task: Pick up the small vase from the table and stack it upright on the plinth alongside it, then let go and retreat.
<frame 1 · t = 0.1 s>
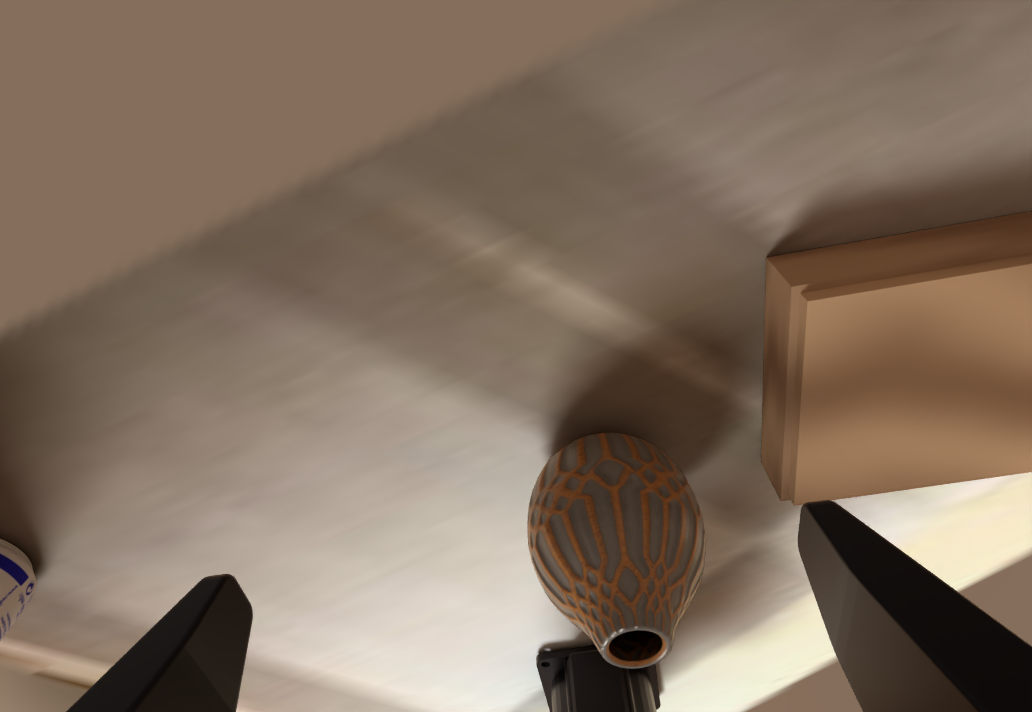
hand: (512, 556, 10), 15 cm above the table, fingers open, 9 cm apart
vase: (601, 465, 29), on the table
plinth: (891, 349, 25), on the table
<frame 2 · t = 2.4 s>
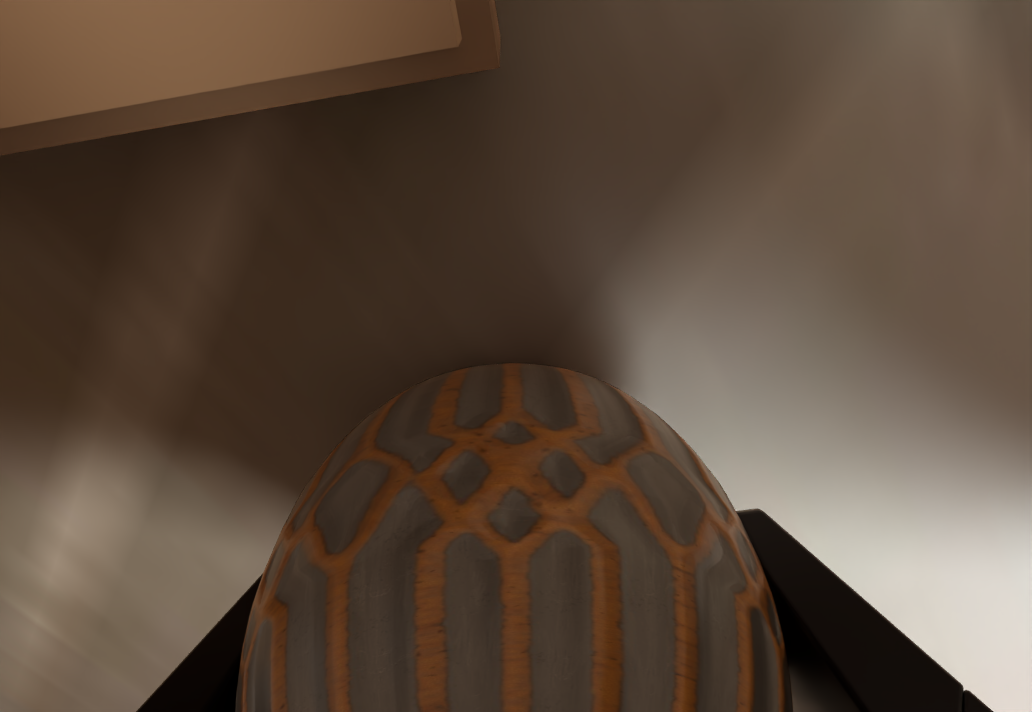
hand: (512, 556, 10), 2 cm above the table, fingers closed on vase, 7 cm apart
vase: (511, 453, 12), on the table, touching gripper
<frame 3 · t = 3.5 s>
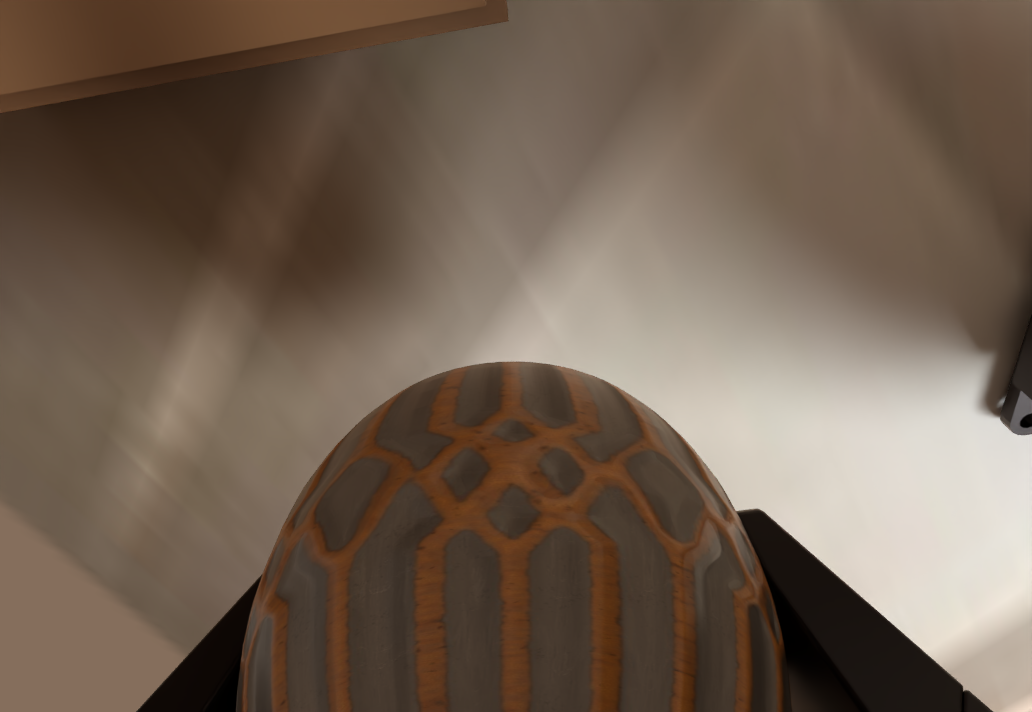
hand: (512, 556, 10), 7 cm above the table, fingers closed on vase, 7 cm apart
vase: (511, 452, 12), point 5 cm above the table, touching gripper
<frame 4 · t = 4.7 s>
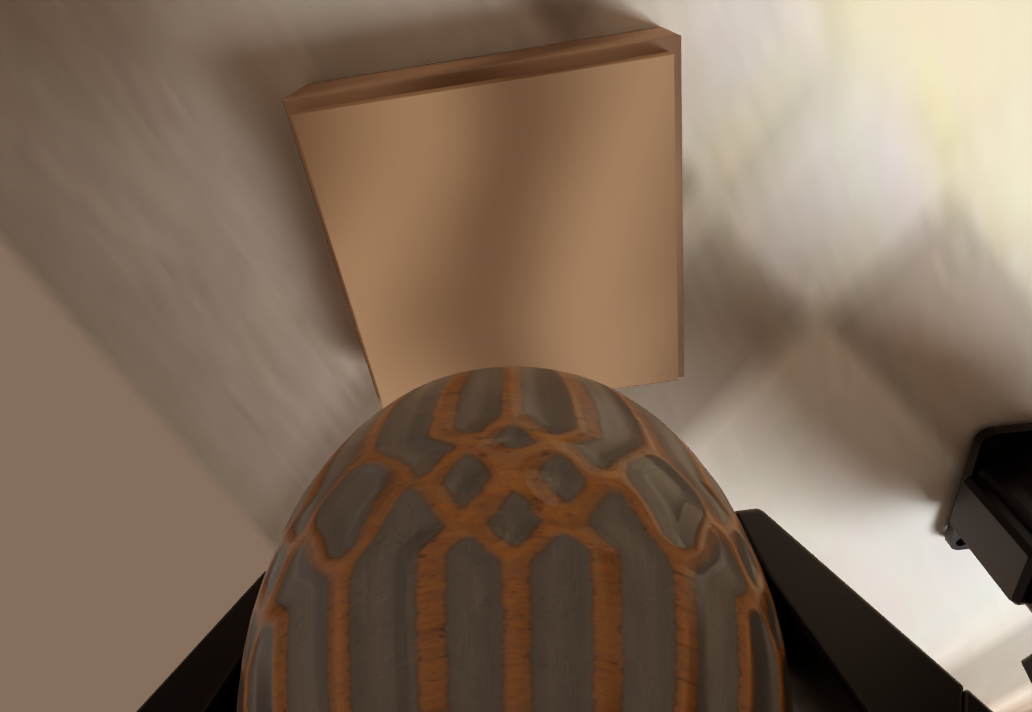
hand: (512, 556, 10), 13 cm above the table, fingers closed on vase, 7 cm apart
vase: (511, 456, 12), point 10 cm above the table, touching gripper
plinth: (508, 225, 20), on the table
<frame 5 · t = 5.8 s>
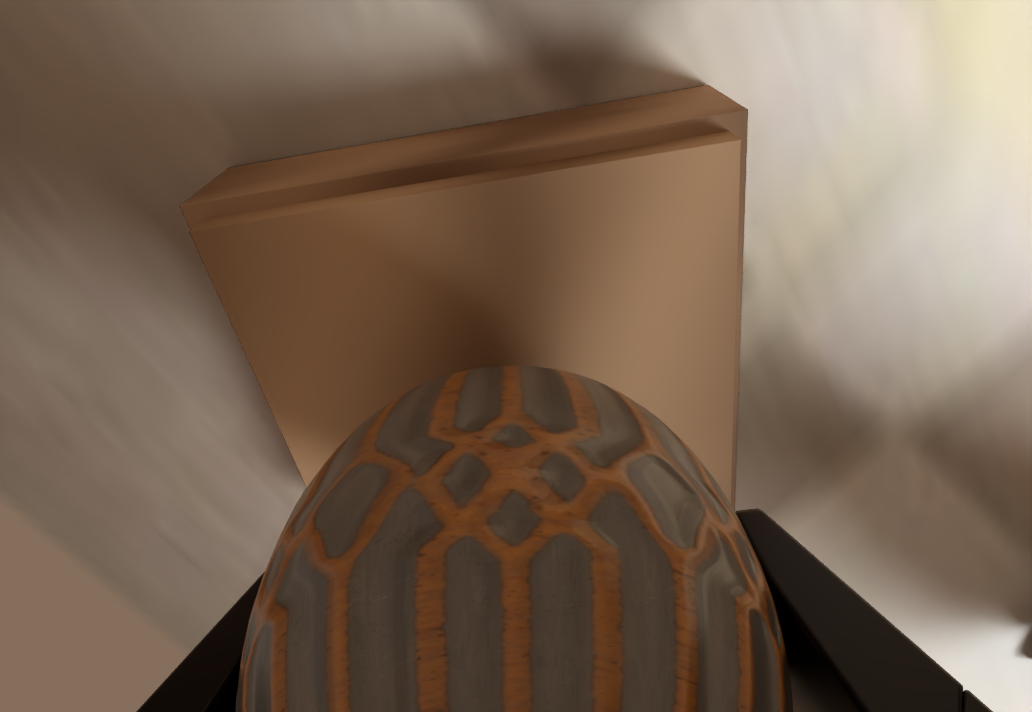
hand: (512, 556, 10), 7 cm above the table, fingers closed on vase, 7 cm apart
vase: (511, 455, 12), point 4 cm above the table, touching gripper
plinth: (503, 335, 16), on the table
when the fingers open (6 cm above the table, at t = 6.9 s): vase stays where it is, resting on plinth.
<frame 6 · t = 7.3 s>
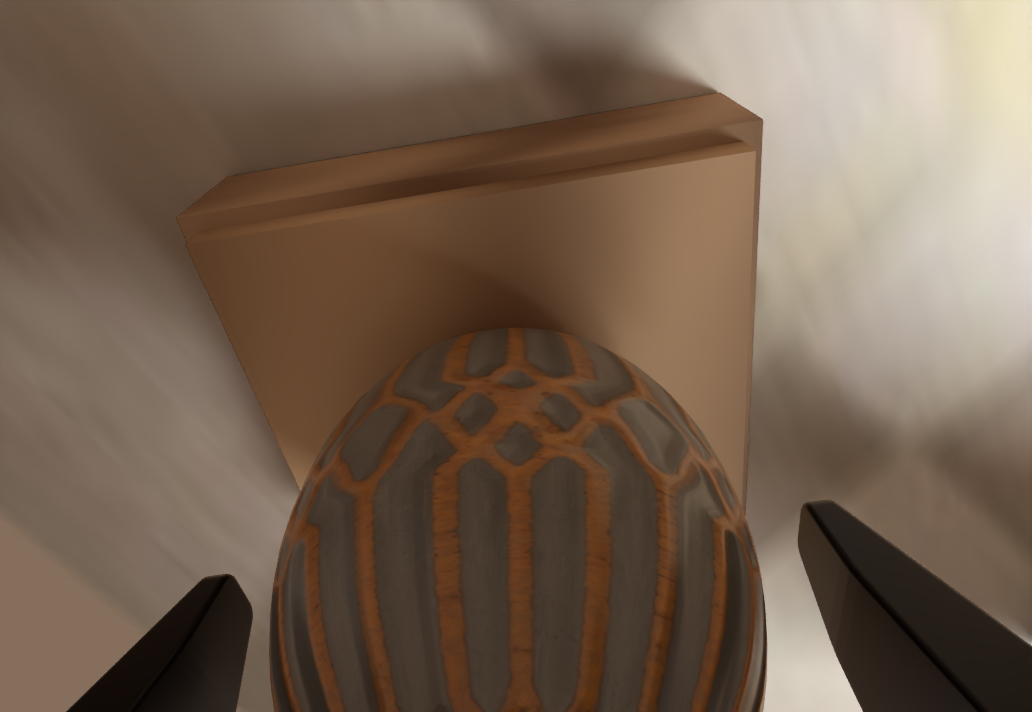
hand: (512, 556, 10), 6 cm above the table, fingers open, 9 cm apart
vase: (515, 420, 13), point 3 cm above the table, touching plinth
plinth: (508, 347, 15), on the table
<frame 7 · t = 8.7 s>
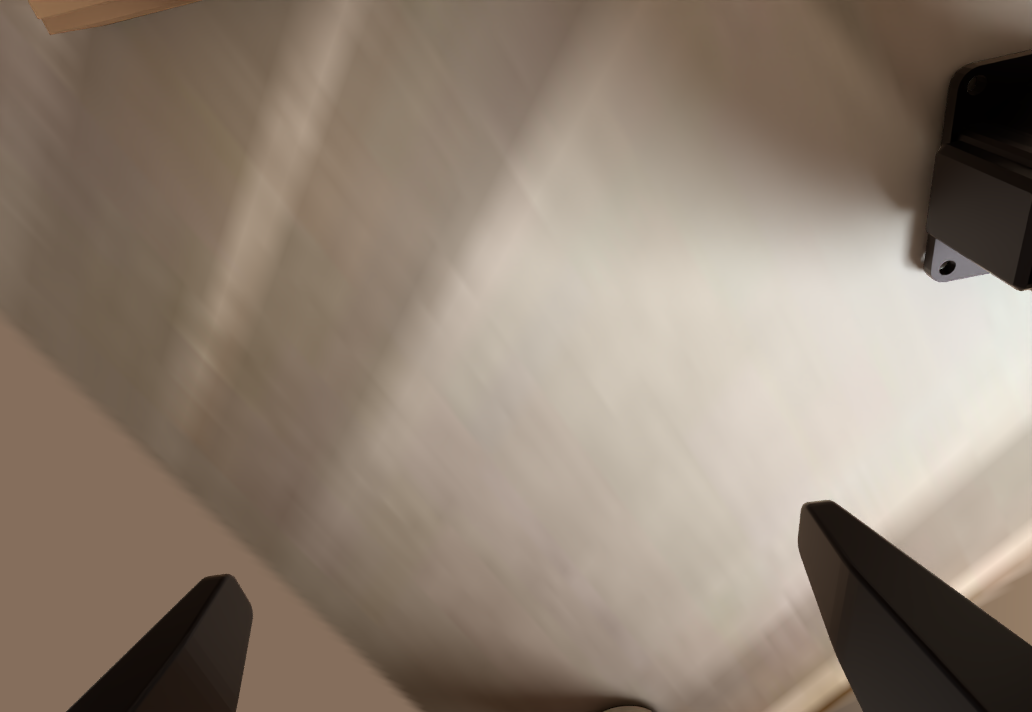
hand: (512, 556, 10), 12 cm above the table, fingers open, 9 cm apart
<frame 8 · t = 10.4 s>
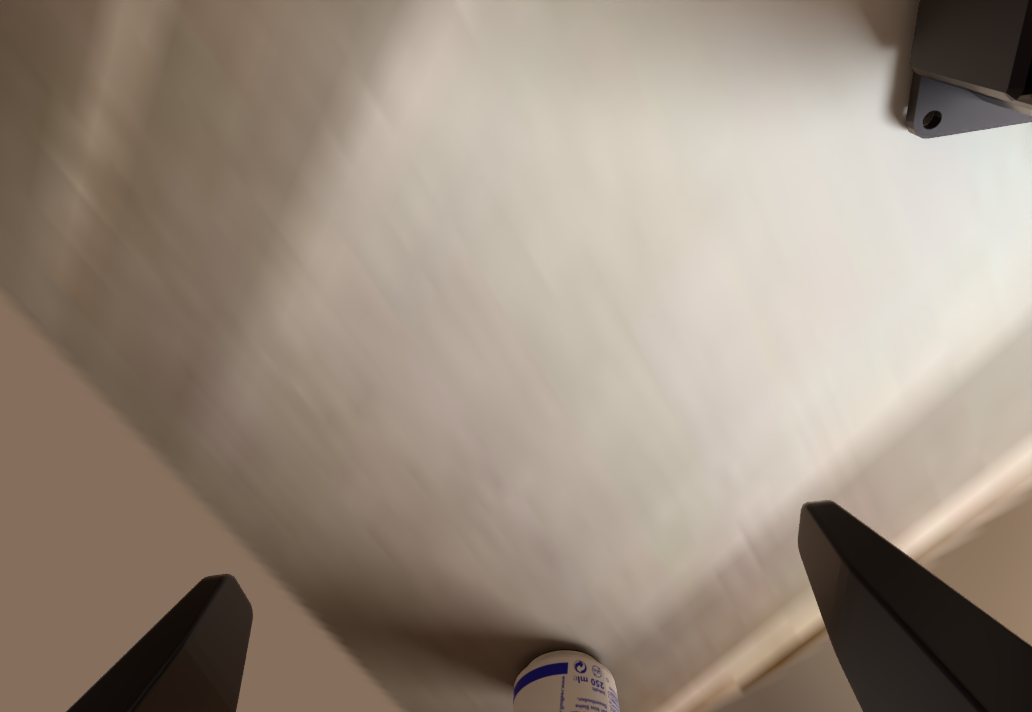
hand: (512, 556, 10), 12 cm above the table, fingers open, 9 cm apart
beverage can: (562, 668, 33), on the table
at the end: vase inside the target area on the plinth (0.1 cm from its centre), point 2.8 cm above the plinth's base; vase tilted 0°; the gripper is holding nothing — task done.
